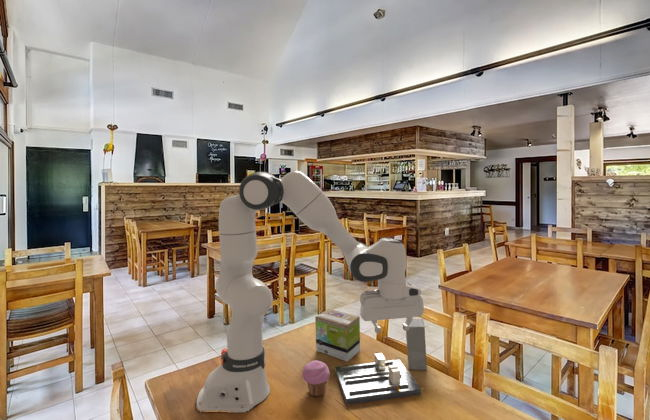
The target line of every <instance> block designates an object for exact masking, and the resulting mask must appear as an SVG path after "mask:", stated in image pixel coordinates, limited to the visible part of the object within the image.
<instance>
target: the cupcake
mask: <svg viewBox="0 0 650 420" xmlns="http://www.w3.org/2000/svg"><path fill="white" fill-rule="evenodd" d="M330 375H331V372H330V368H329V367H328V365H327V364H326V363H325V362H323V361H321V360H316V359H315V360H312V361H310V362H307V363H306V364H305V365H304V367H303V370H302V378H303V380H304V381H305V383H307V388H308V391H309V394H310V395H311V396H313V397H315V396H316V397H317V396H323V395H325V394H326V387H327V383H328V381H329V379H330Z"/></svg>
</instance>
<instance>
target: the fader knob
mask: <svg viewBox="0 0 650 420" xmlns="http://www.w3.org/2000/svg"><path fill="white" fill-rule="evenodd" d="M388 368H389V380H390V381H391V383H392V385H396V384H400V370H399V369H398V367H397V366H396V365H388Z"/></svg>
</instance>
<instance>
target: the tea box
mask: <svg viewBox="0 0 650 420" xmlns="http://www.w3.org/2000/svg"><path fill="white" fill-rule="evenodd" d="M360 317H361V316H358V315H355V314H352V313H347V312H344V311H343V312H342V311H340V310H335V309H331V308H327V309H326V310H325V311H323V312H321V313H320V314H318V315H316V316H315V320H314V321H315V349H316V352H320V353H323V354H325V355H328V356H331V357H333V358H336V359H339V360H342V361H344V362H347V363H348V362H349V361H350V360H351V359H353V358H354V356H356V355H357V354H358V353H359V352H360V351H361V332H360V331H361V327H360V326H361V325H360V323H361V322H360Z"/></svg>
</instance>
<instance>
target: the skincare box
mask: <svg viewBox="0 0 650 420" xmlns="http://www.w3.org/2000/svg"><path fill="white" fill-rule="evenodd" d="M406 320H407V318H405V321H406ZM425 328H426V327H425V322H424V319H423V318H413V320H412V322H411V324H410V325H409V330H406V331H405V337H406V352H407V362H408V369H409V370H415V371H416V370H417V371H428V366H427V365H428V364H427V362H428V361H427V347H426V345H427V344H426V329H425Z"/></svg>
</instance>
